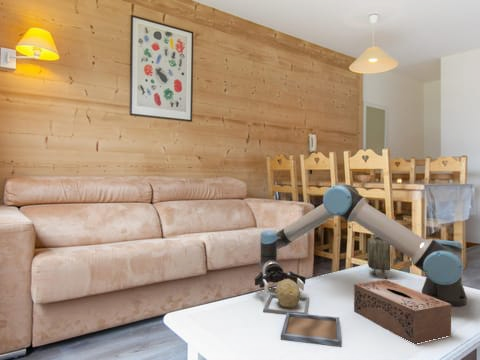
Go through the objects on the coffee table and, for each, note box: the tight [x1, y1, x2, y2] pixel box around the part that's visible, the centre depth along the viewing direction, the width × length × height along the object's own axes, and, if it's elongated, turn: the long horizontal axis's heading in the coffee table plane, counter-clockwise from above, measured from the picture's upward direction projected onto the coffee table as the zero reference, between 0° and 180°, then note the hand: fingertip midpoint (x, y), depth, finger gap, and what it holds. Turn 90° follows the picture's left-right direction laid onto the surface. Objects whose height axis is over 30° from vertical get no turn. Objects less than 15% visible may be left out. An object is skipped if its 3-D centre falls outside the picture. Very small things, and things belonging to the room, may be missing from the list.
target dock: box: [280, 312, 342, 348], centre depth 108 cm, size 17×17×1 cm
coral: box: [274, 279, 302, 308], centre depth 128 cm, size 10×10×10 cm
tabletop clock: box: [366, 234, 392, 280], centre depth 167 cm, size 14×9×25 cm, turn 164°
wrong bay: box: [262, 293, 310, 316], centre depth 127 cm, size 15×16×1 cm
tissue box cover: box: [353, 279, 452, 345], centre depth 113 cm, size 26×14×10 cm, turn 21°
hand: (285, 287), depth 129 cm, fingers open, 13 cm apart
